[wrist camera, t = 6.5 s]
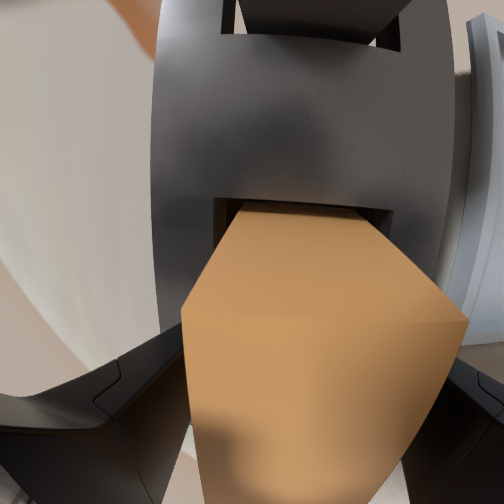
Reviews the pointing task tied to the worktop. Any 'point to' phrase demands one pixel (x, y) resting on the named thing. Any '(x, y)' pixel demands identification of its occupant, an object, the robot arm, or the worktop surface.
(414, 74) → the grey slotted frame
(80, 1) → the worktop surface
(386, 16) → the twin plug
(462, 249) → the tray
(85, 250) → the worktop surface
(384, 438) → the orange block
